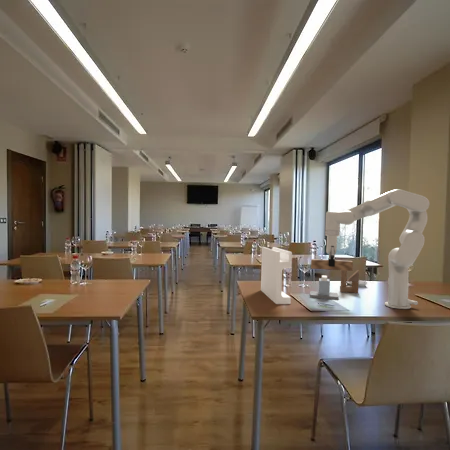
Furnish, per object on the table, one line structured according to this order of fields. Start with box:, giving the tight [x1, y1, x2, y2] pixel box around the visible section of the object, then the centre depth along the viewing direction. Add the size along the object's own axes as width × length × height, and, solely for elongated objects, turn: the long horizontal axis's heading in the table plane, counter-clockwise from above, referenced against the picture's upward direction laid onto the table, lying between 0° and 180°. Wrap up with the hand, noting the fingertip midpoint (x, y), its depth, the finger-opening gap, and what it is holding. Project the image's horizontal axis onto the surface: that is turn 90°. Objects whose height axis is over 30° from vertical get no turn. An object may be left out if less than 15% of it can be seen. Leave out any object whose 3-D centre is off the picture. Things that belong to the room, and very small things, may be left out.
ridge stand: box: [309, 274, 340, 301], centre depth 205 cm, size 16×12×12 cm
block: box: [260, 246, 293, 305], centre depth 201 cm, size 35×8×28 cm, turn 8°
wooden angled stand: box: [339, 269, 360, 294], centre depth 219 cm, size 4×11×18 cm, turn 82°
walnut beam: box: [310, 258, 354, 272], centre depth 191 cm, size 22×4×5 cm, turn 77°
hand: (331, 265), depth 191 cm, fingers closed on walnut beam, 4 cm apart
